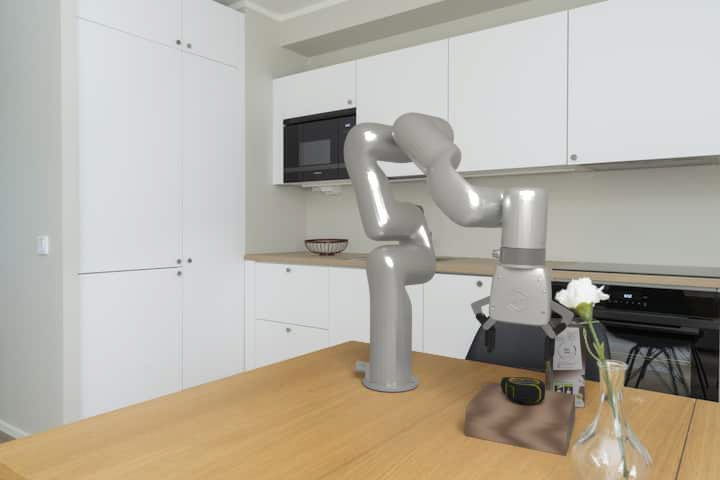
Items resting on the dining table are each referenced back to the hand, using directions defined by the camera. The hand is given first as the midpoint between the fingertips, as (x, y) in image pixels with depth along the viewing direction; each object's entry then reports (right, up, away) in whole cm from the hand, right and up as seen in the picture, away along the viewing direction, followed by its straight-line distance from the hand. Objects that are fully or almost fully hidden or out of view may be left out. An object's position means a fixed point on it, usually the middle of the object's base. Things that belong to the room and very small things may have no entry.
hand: (518, 354), depth 89 cm
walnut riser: (+1, -13, +1) cm, 13 cm away
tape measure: (+1, -8, +1) cm, 8 cm away
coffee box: (+15, -13, +16) cm, 25 cm away
